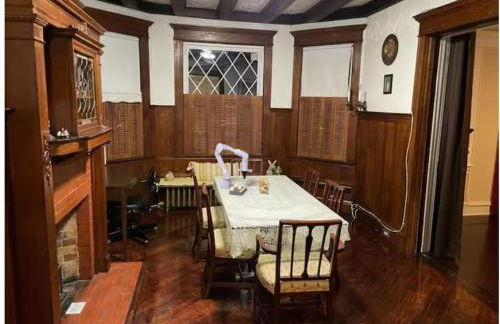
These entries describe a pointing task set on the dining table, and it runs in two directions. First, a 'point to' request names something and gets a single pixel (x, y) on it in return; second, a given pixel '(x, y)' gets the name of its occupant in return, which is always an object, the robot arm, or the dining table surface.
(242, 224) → the dining table surface
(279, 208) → the dining table surface
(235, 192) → the switch bank
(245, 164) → the robot arm
